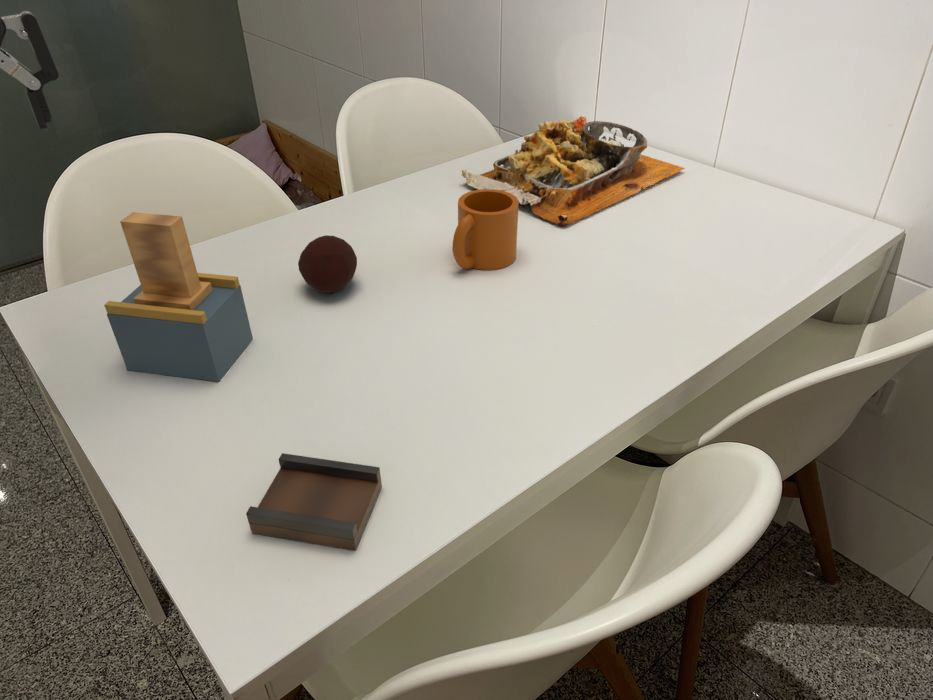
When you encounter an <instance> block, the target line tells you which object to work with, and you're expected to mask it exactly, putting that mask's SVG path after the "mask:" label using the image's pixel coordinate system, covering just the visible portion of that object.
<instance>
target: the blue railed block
mask: <svg viewBox="0 0 933 700" xmlns="http://www.w3.org/2000/svg"><path fill="white" fill-rule="evenodd" d="M197 274H198V277H199V281H201V282H210V283H211V286H212V290H213V291H212V292H211V293H210V295H209V296H208V297H207V298H206V299H205V300H204V301H203V302H202V303H201V304H200V305H199V306H198V307H197V308H196V309H195V310H187V309H178V308H169V307H160V306H151V305H141V304H135V302H134V299H133V298H134V297H136V296H137V295H138V294H139V293H140V292H141V291H142V287H141V284H139V286H137V287H136V288H135V289H134V290H133V291H132V292H130V293H129V294H128V295H127V296H126V297H125V298H123V300H121V301H115V300H114V301H113V300H108V301H107V302H105V303H104V308H105V311H106V313H107V314H106V317H107V320H108V322H109V325H110V327H111V330H112V333H113V335H114V338H115V341H116V344H117V346H118V349H119V351H120V354H121V357H122V360H123V362H124V365H125V367H126V371H130V372H139V373H145V374H154V375H160V376H161V375H163V376H168V377H169V376H170V377H178V378H185V379H192V380H193V379H194V380H200V381H201V380H202V381H208V382H216V383H219V382H220V381H222V378H224V376H225V375H226V374H227V372H228V371H229V370H230V369H231V368H232V366H233V365H234V363H236V361H237V360H238V358H239V357H240V356H241V355H242V353H244V351H245V350H246V348H247V347H248V346H249V345H250V343H251V342H252V341H253V340H254V337H253V333H252V330H251V329H252V328H251V325H250V324H251V323H250V320H249V316H248V312H247V306H246V304H245V298H244V295H243V290H242V287H241V284H240V280H239V276H237V275H236V276H235V275H226V274H224V275H223V274H216V273H204V272H197Z"/></svg>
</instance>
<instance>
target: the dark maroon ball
mask: <svg viewBox="0 0 933 700" xmlns="http://www.w3.org/2000/svg"><path fill="white" fill-rule="evenodd" d="M297 266H298V271H299V274H300V275H301V277H302V278H303V281H304V282H305V283H306V284H307V285H308V286H309V287H311V288H312V289H314V290H316V291H318V292H320V293H324V294H327V293H328V294H329V293H330V294H332V293H335V292H338V291H341V290H342V289H344V288H345V287H346V286H347V285H348V284H350V283H351V282H352V280H353V278H354V276H355V273H356V270H357V267H358V256H357V255H356V253H355V250H354V248H353V247H352V245H351V244H350V243H348V242H347V241H346V240H345V239H343V238H340V237H338V236H335V235H322V236H318V237H316V238H314V239H312V240H311V241H310V242H309V243H307V245H306V246H305V247H304V249H303V250H302V251H301V253H300V255H299V258H298V262H297Z"/></svg>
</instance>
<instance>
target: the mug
mask: <svg viewBox="0 0 933 700" xmlns="http://www.w3.org/2000/svg"><path fill="white" fill-rule="evenodd" d="M519 204H520V203H519V201H518V199H517V198H516V196H514V195H512V194H511V193H508V192H505V191H501V190H496V189H481V190H478V189H475V190H474V189H473V190H471V191H467V192H465V193H463V194H462V195H460V197H458V200H457V226H456V228H455V230H454V233H453V237H452V255H453V258H454V261H455V263H456V264H457V265H458V267H460V268H462V269H463V270H470V269H476V270H480V271H493V270H501V269H505V268H507V267H508V266H510V265H512V264H513V263H514V262H515V261H516V259H517V246H518V245H517V244H518V243H517V241H518V222H519Z"/></svg>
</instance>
